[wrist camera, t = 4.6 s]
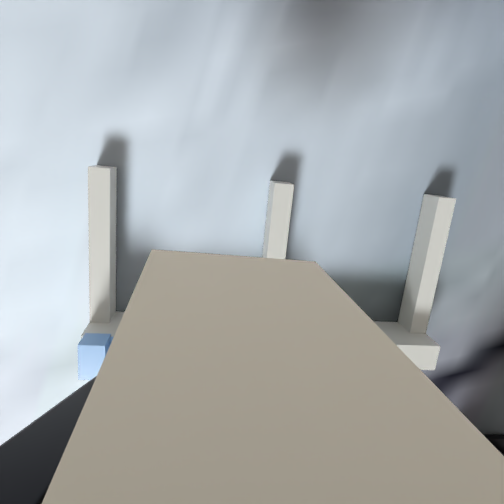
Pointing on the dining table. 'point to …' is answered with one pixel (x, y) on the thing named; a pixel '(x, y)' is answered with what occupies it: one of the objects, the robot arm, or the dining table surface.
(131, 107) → the dining table surface
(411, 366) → the cream rectangular block
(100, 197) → the white post rack
